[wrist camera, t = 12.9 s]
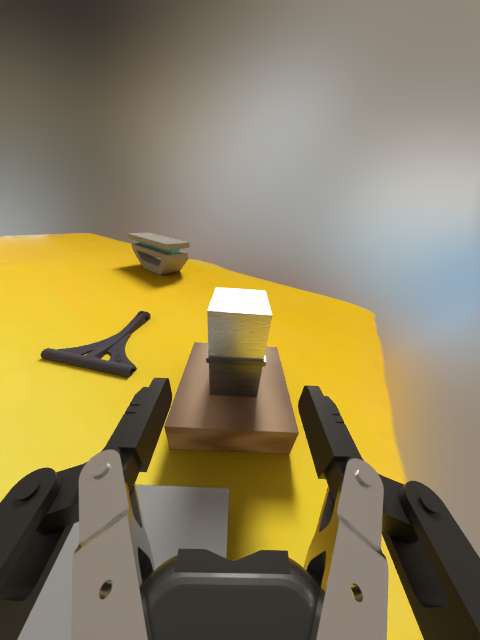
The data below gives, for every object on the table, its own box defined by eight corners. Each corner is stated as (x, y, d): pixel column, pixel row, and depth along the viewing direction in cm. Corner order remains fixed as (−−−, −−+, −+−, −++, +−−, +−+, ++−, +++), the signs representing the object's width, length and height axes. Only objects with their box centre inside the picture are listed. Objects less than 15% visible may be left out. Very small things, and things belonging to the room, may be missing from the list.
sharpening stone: (191, 275, 64) (188, 242, 59) (171, 280, 59) (166, 244, 53) (153, 261, 77) (149, 232, 72) (134, 263, 72) (128, 233, 66)
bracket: (180, 325, 38) (178, 314, 37) (130, 380, 26) (124, 366, 24) (118, 315, 40) (115, 304, 39) (44, 362, 28) (34, 347, 26)
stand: (170, 448, 18) (164, 426, 16) (196, 362, 28) (194, 342, 26) (289, 454, 18) (298, 432, 16) (272, 367, 29) (276, 347, 27)
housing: (207, 396, 19) (204, 311, 14) (214, 359, 24) (214, 286, 18) (259, 399, 19) (274, 316, 14) (255, 362, 24) (266, 290, 19)
